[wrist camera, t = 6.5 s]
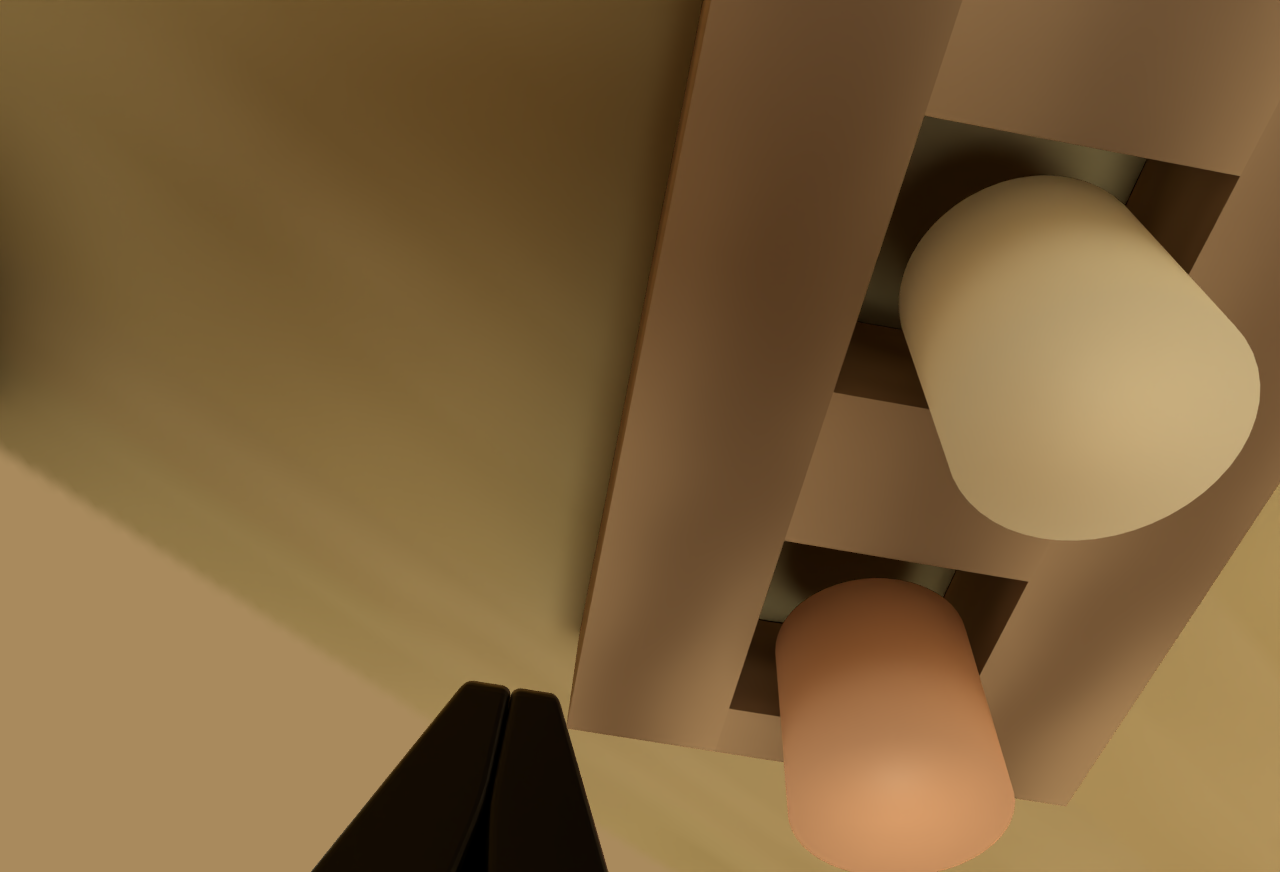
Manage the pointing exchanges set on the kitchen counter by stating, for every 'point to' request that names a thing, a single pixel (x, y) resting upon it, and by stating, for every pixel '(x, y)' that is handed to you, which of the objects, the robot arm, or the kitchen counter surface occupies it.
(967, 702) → the terracotta button
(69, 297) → the kitchen counter surface
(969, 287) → the cream button
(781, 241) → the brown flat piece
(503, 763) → the robot arm
